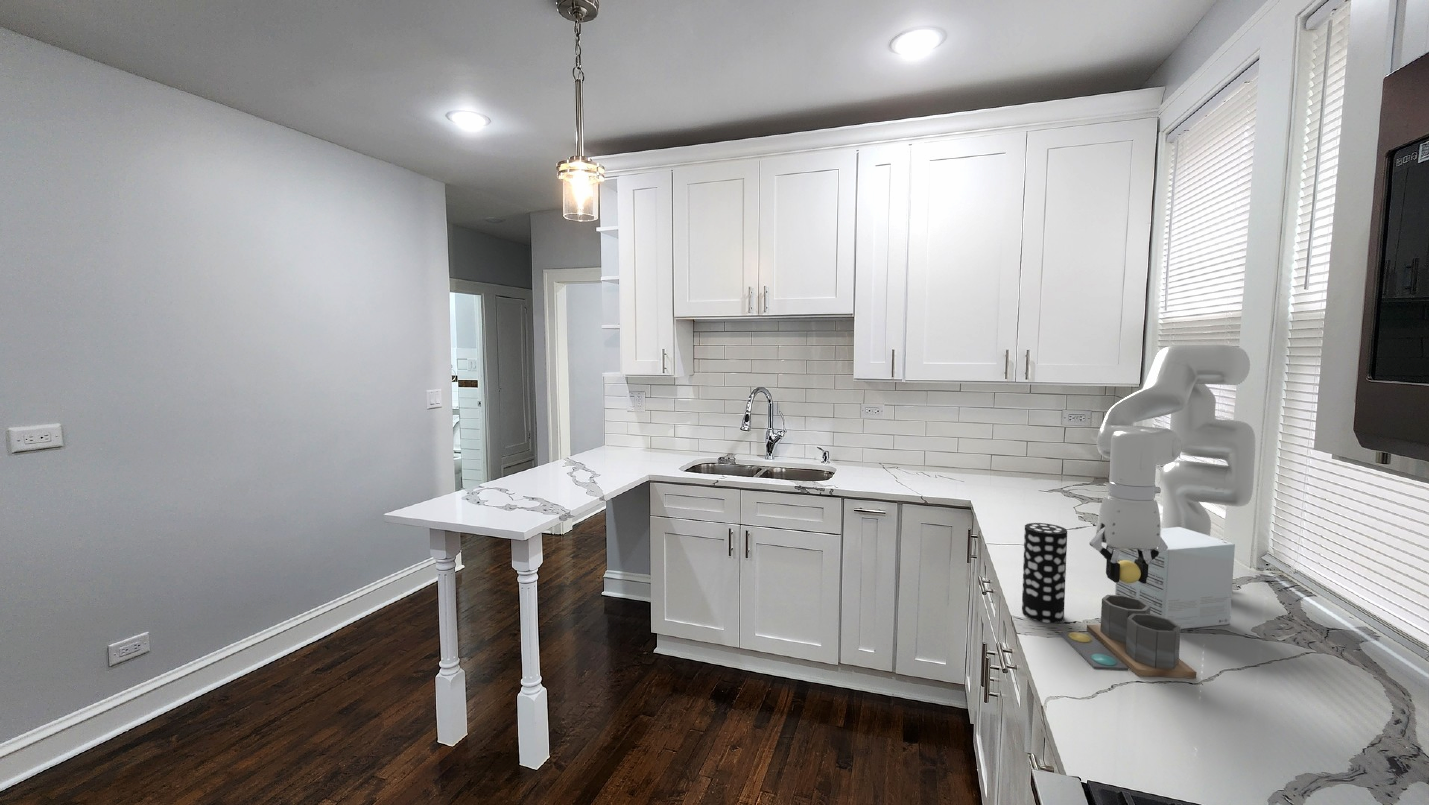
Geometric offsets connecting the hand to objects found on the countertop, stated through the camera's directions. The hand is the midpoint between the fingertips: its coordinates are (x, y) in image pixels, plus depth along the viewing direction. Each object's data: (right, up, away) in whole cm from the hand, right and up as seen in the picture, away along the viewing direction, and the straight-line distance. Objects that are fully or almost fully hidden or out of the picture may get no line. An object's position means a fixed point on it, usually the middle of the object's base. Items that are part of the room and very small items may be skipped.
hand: (1126, 579), depth 120 cm
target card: (-9, -13, -2) cm, 16 cm away
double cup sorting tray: (0, -13, -3) cm, 14 cm away
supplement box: (+19, -12, +13) cm, 26 cm away
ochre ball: (0, -1, 0) cm, 1 cm away
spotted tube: (-9, -12, +14) cm, 21 cm away
